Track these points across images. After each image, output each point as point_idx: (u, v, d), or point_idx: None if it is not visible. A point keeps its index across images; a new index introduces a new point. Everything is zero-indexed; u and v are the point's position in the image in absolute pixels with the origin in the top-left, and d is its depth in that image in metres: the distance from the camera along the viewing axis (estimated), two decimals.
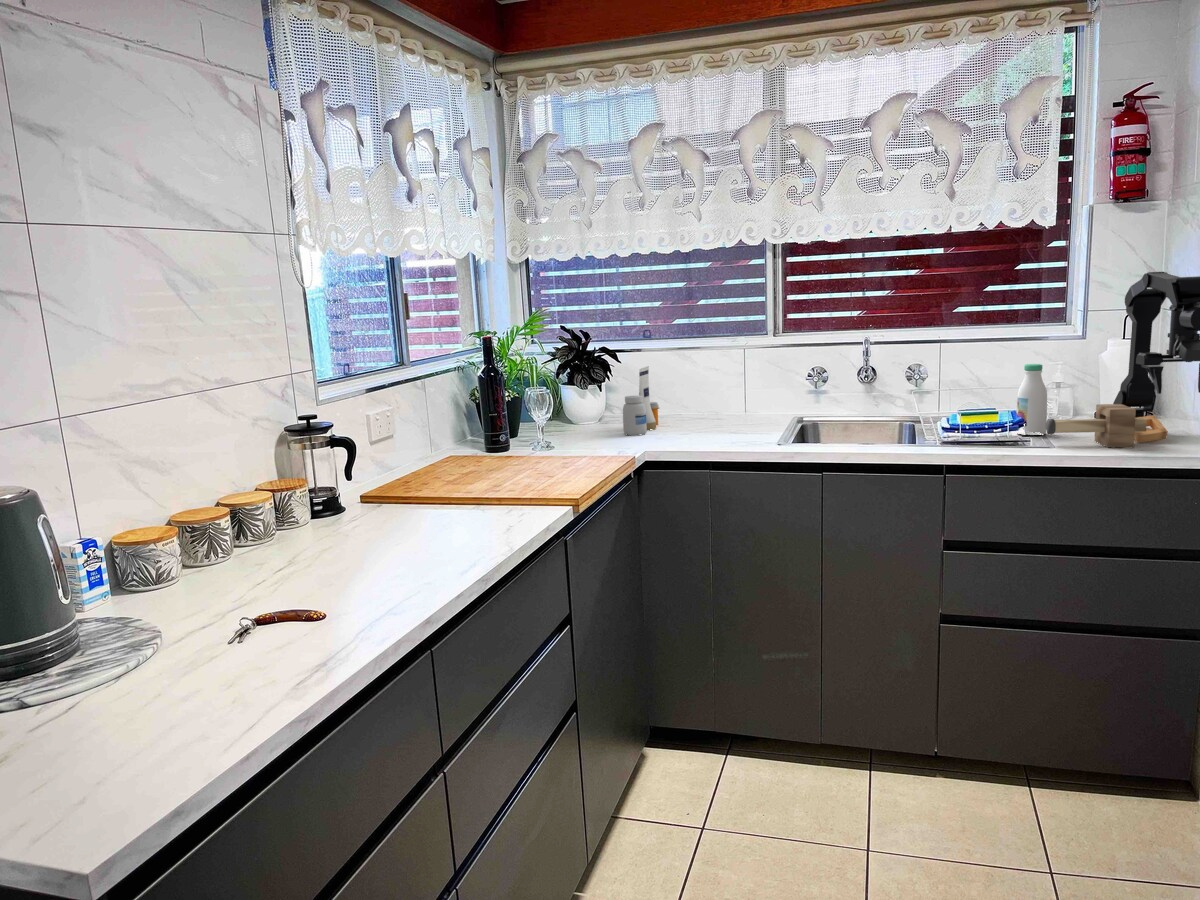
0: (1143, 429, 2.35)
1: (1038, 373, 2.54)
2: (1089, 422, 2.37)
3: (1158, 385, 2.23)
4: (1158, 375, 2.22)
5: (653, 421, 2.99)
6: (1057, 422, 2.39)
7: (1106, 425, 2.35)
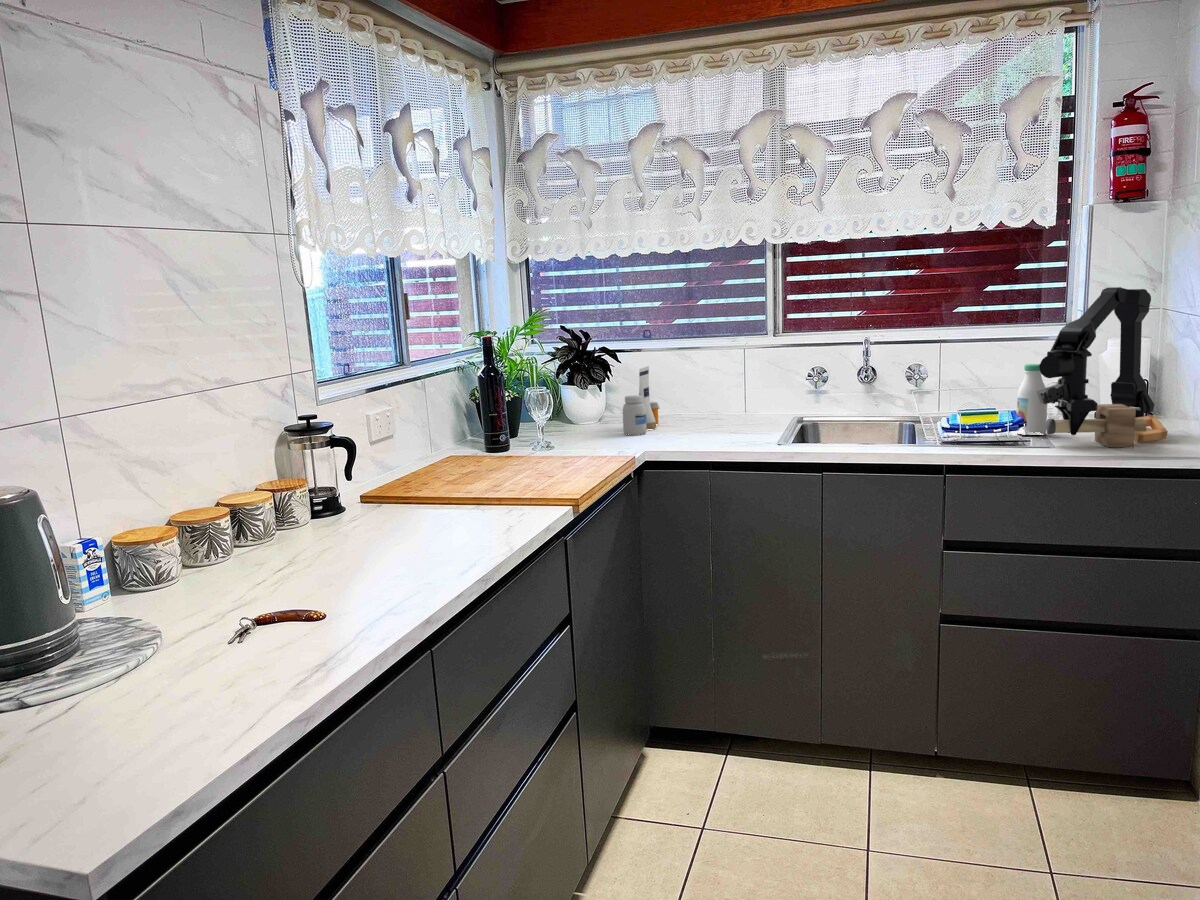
0: (1143, 429, 2.35)
1: (1038, 373, 2.54)
2: (1089, 422, 2.37)
3: None
4: (1063, 415, 2.42)
5: (653, 421, 2.99)
6: (1057, 422, 2.39)
7: (1106, 425, 2.35)
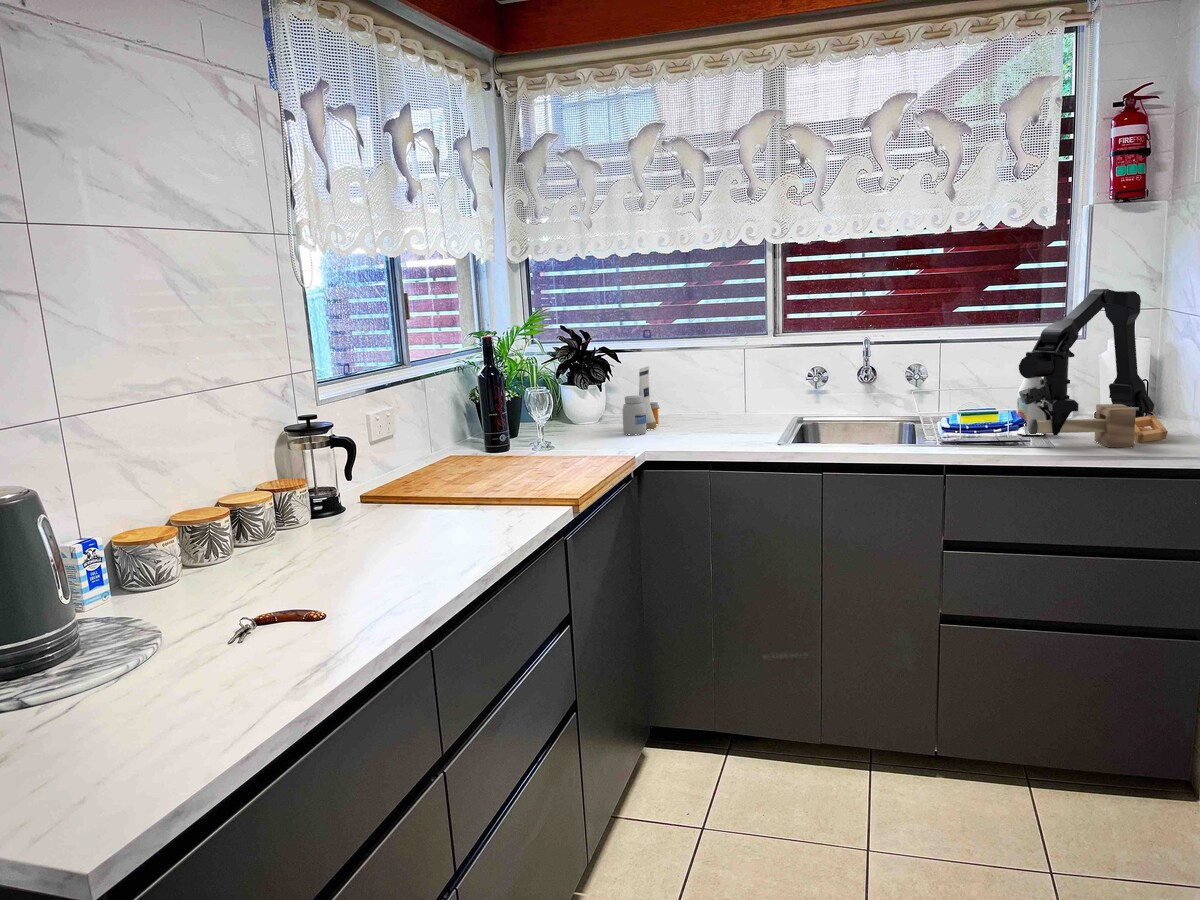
0: None
1: None
2: (1071, 422, 2.38)
3: None
4: (1045, 415, 2.43)
5: (653, 421, 2.99)
6: (1039, 422, 2.39)
7: (1106, 425, 2.35)
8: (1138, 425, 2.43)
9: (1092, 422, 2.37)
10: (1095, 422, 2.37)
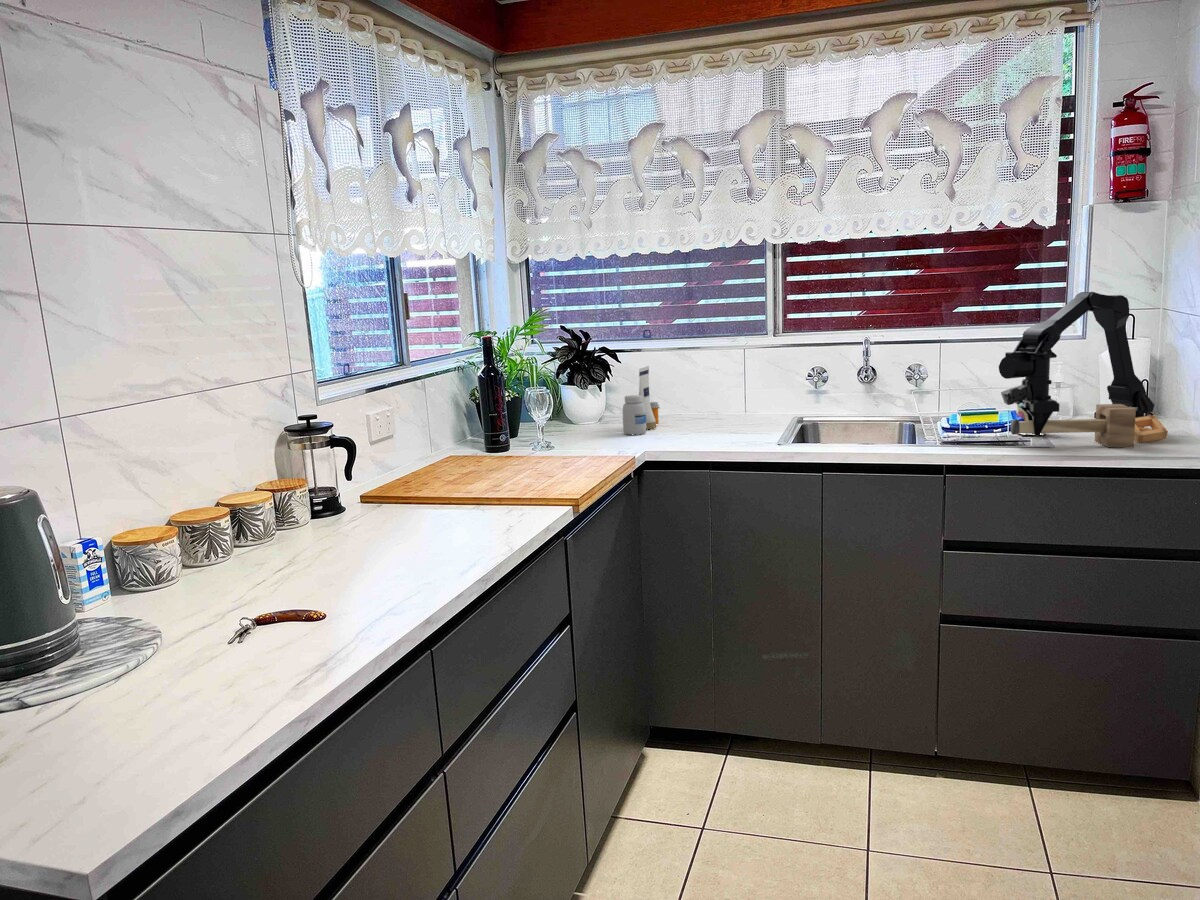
0: None
1: None
2: (1052, 423, 2.39)
3: None
4: (1027, 415, 2.43)
5: (653, 421, 3.00)
6: (1021, 423, 2.40)
7: (1106, 425, 2.35)
8: (1138, 425, 2.43)
9: (1073, 422, 2.38)
10: (1077, 422, 2.38)
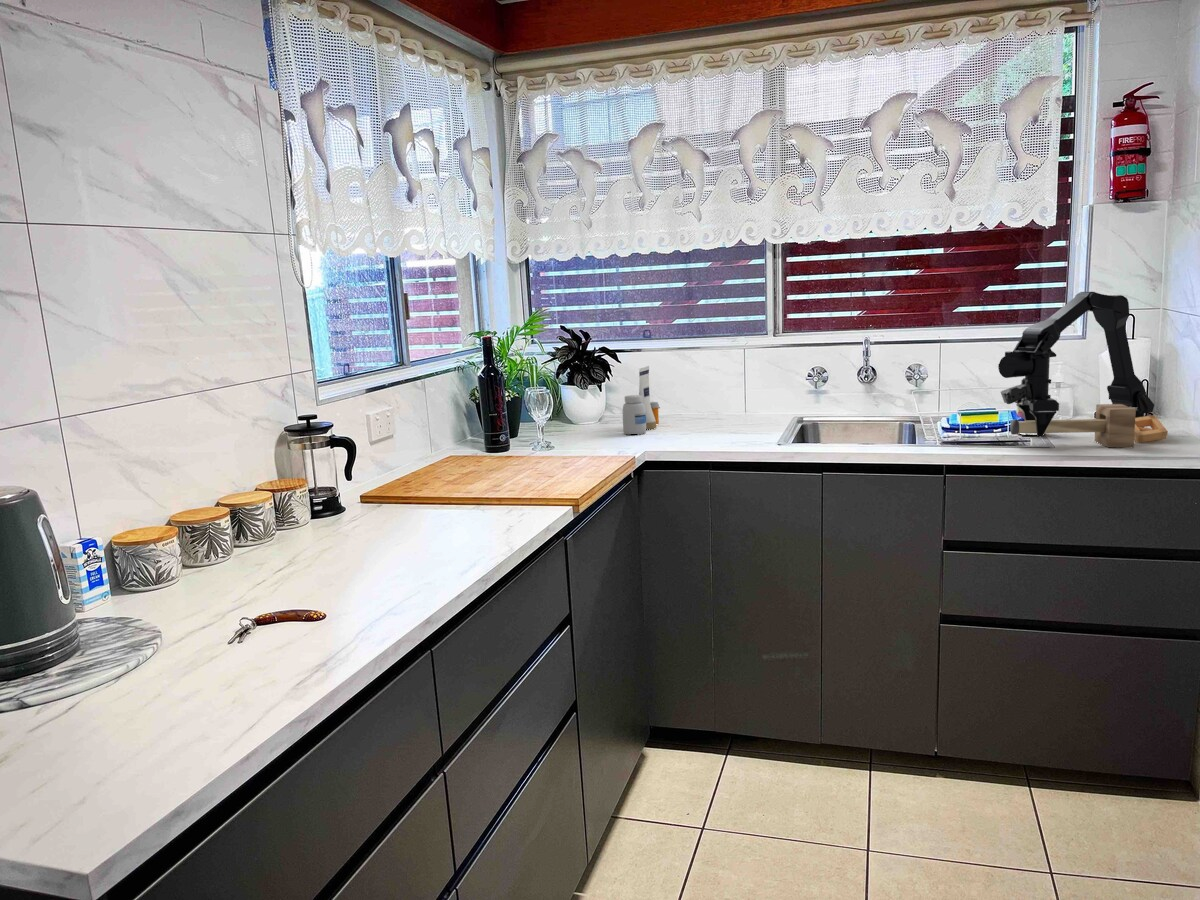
0: None
1: None
2: (1052, 423, 2.39)
3: None
4: (1023, 413, 2.46)
5: (653, 421, 3.00)
6: (1021, 423, 2.40)
7: (1106, 425, 2.35)
8: (1138, 425, 2.43)
9: (1073, 422, 2.38)
10: (1076, 422, 2.38)
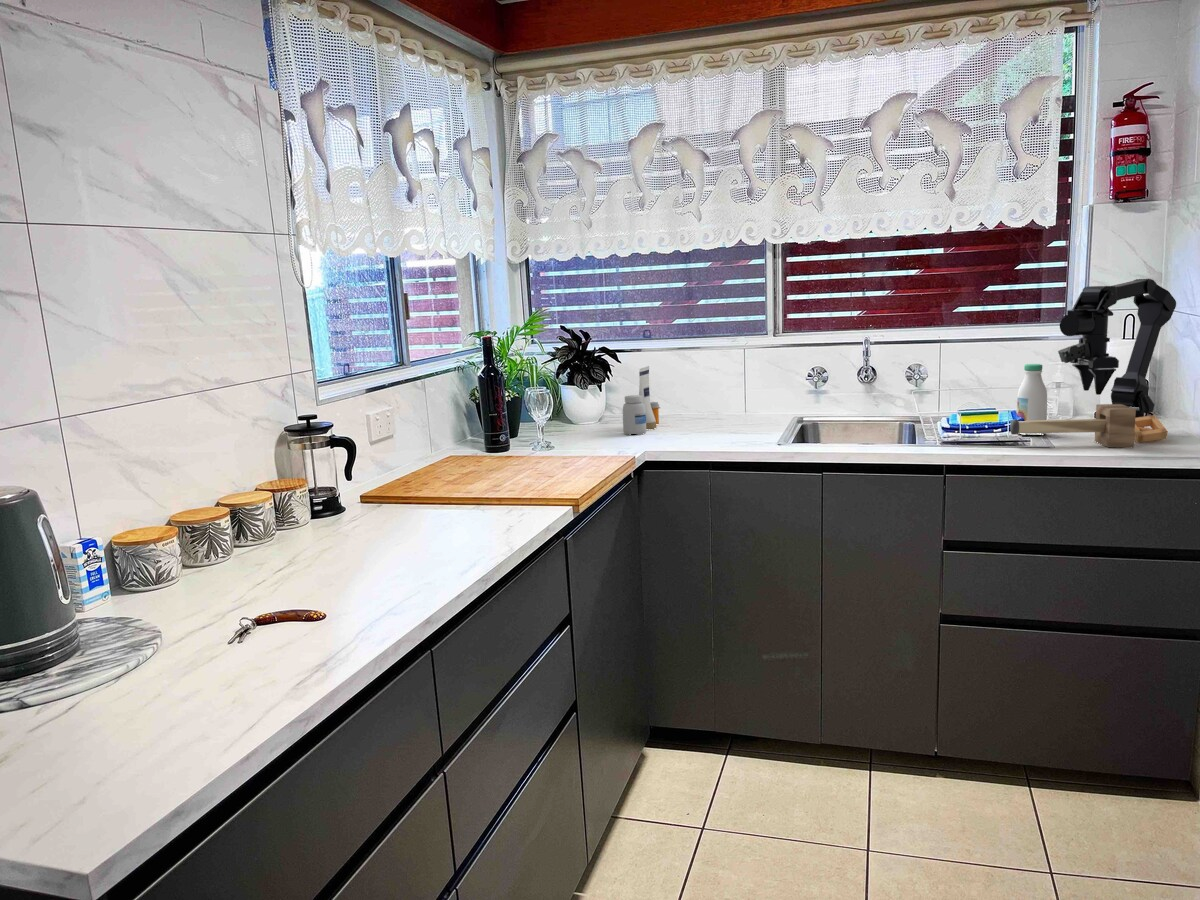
0: None
1: (1038, 373, 2.54)
2: (1052, 423, 2.39)
3: (1082, 382, 2.49)
4: (1080, 373, 2.49)
5: (653, 421, 3.00)
6: (1021, 423, 2.40)
7: (1106, 425, 2.35)
8: (1138, 425, 2.43)
9: (1073, 422, 2.38)
10: (1076, 422, 2.38)
